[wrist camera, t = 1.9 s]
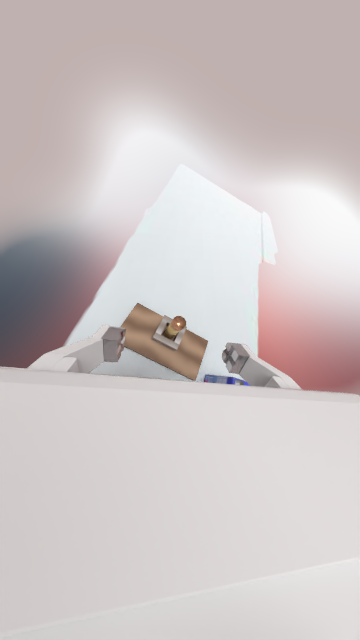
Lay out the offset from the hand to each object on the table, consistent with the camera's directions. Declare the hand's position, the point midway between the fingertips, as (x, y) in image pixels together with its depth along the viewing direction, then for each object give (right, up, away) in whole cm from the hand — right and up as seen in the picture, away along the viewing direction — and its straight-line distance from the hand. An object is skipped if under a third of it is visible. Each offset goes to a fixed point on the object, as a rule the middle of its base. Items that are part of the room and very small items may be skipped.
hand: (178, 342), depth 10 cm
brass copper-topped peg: (-3, -2, +27) cm, 27 cm away
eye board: (-4, -4, +27) cm, 28 cm away
